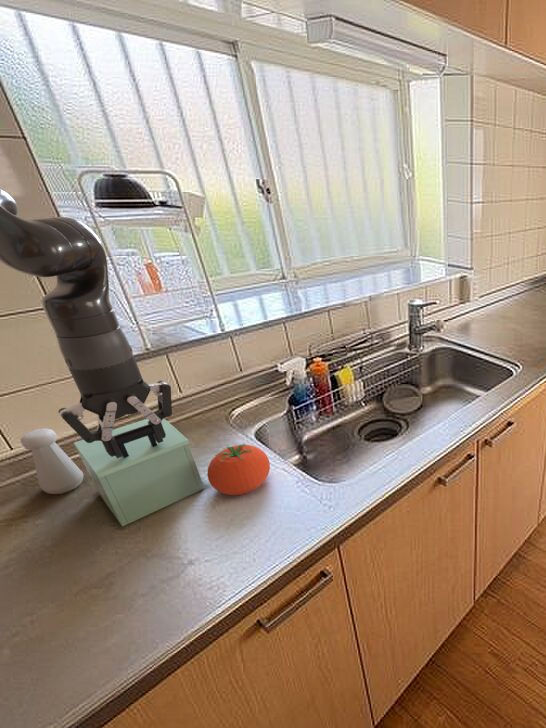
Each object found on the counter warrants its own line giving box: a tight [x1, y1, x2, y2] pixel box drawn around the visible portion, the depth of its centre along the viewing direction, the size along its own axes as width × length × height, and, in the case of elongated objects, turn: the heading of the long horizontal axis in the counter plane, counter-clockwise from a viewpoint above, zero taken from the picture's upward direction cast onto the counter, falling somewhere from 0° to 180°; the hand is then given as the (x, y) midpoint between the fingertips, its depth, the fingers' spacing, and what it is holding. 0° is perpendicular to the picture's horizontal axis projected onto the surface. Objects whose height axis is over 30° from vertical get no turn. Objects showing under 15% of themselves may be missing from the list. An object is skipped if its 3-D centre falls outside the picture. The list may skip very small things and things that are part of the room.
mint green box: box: [75, 443, 205, 527], centre depth 78 cm, size 13×13×12 cm
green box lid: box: [73, 418, 190, 478], centre depth 74 cm, size 13×13×5 cm
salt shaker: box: [19, 427, 84, 495], centre depth 78 cm, size 6×6×13 cm
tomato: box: [206, 443, 271, 496], centre depth 81 cm, size 10×10×10 cm
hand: (139, 447), depth 72 cm, fingers closed on green box lid, 5 cm apart
